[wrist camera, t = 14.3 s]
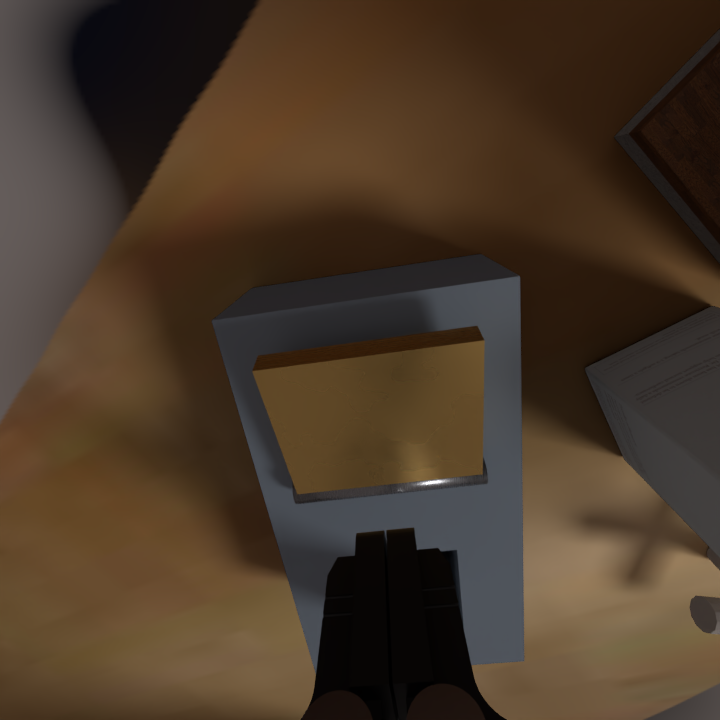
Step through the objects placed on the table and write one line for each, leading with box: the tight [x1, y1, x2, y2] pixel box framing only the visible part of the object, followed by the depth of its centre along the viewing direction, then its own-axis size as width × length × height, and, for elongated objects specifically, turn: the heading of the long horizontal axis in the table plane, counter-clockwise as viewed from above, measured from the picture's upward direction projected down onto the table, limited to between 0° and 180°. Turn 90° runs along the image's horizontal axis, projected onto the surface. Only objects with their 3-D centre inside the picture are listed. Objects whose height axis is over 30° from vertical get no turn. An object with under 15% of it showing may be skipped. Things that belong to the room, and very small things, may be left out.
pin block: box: [212, 254, 524, 672], centre depth 23 cm, size 22×12×6 cm, turn 9°
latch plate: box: [252, 326, 488, 504], centre depth 17 cm, size 8×8×1 cm
